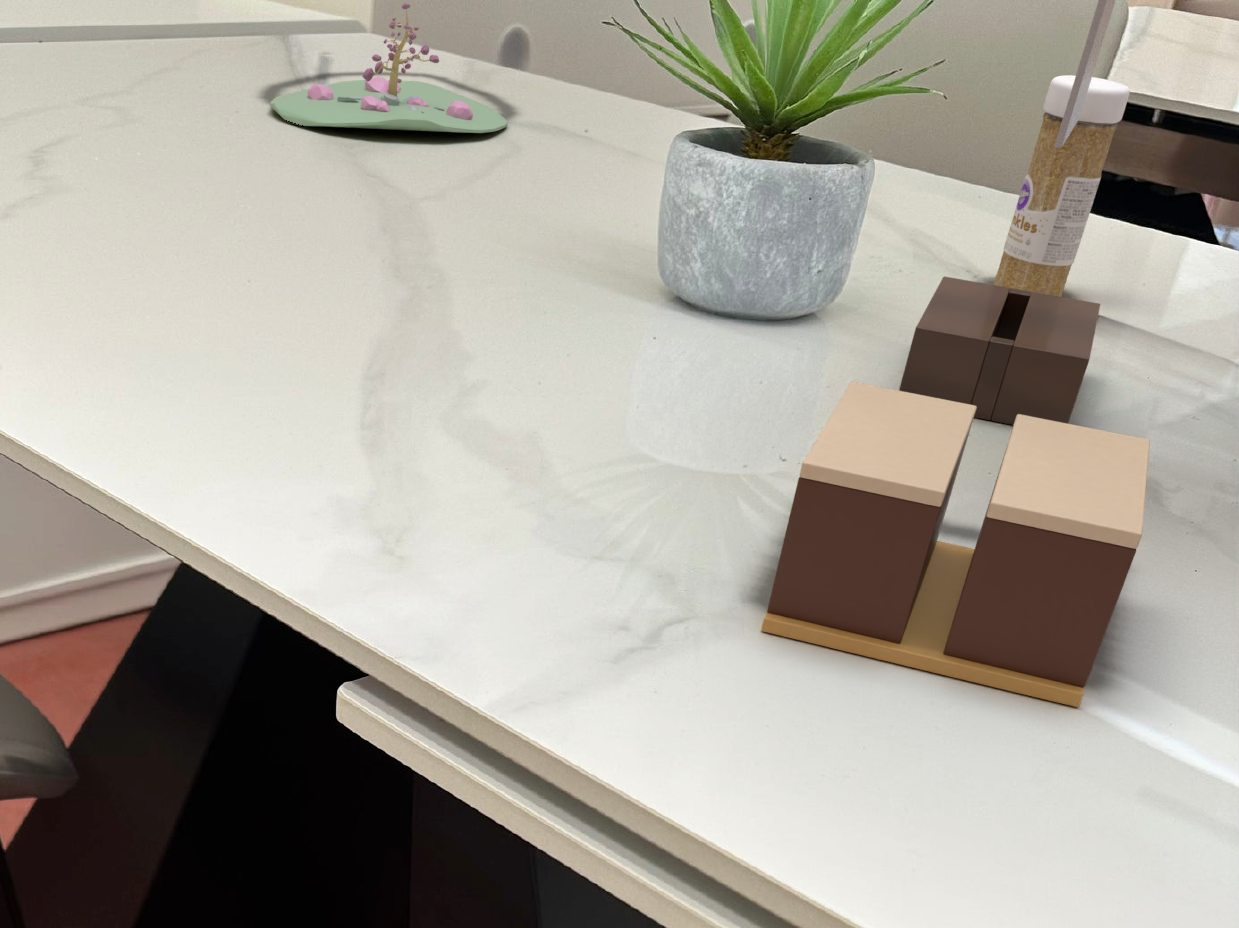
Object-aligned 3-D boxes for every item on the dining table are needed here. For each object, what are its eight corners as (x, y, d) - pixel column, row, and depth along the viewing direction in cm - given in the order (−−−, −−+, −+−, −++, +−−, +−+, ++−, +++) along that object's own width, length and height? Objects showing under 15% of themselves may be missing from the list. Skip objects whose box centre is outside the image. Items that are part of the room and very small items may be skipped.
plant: (270, 78, 152) (274, -33, 146) (489, 94, 153) (500, -15, 148) (269, 134, 132) (273, 8, 126) (521, 152, 133) (535, 28, 128)
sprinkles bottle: (972, 300, 106) (1037, 72, 98) (1033, 300, 107) (1102, 74, 99) (1010, 322, 103) (1081, 87, 95) (1072, 322, 104) (1148, 89, 96)
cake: (815, 527, 73) (853, 377, 69) (1094, 588, 69) (1150, 435, 66) (760, 631, 64) (799, 466, 60) (1078, 708, 60) (1142, 539, 56)
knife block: (924, 345, 97) (943, 276, 95) (1077, 374, 95) (1100, 303, 92) (895, 402, 88) (915, 327, 86) (1064, 435, 86) (1089, 359, 83)
